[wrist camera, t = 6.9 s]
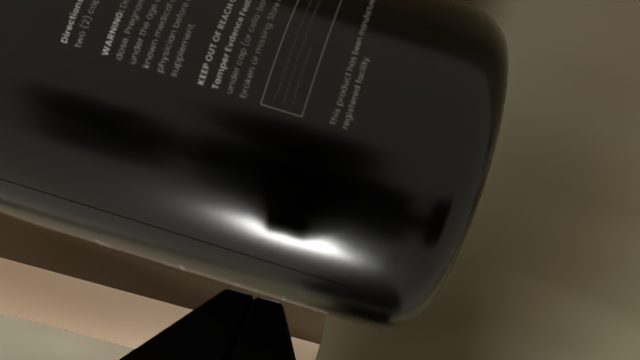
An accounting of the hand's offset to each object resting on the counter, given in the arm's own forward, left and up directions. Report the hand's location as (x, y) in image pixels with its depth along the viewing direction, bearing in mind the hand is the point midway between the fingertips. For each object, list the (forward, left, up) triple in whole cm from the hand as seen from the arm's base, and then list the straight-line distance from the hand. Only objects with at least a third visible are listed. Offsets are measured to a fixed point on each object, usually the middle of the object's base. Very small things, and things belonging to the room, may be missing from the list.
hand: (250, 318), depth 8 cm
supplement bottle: (+1, -3, -4) cm, 6 cm away
